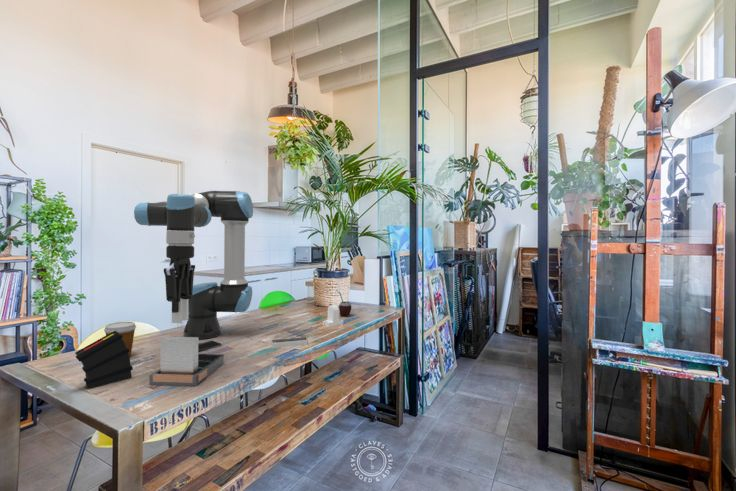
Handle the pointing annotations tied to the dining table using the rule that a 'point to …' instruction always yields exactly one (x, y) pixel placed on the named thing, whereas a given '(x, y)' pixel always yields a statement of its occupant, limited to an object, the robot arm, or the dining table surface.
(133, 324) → the disposable coffee cup
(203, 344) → the phone
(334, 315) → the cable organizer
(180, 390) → the dining table surface
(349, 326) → the dining table surface
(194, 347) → the panel
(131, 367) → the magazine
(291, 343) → the multiport hub
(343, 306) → the mate gourd
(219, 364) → the slot rack
